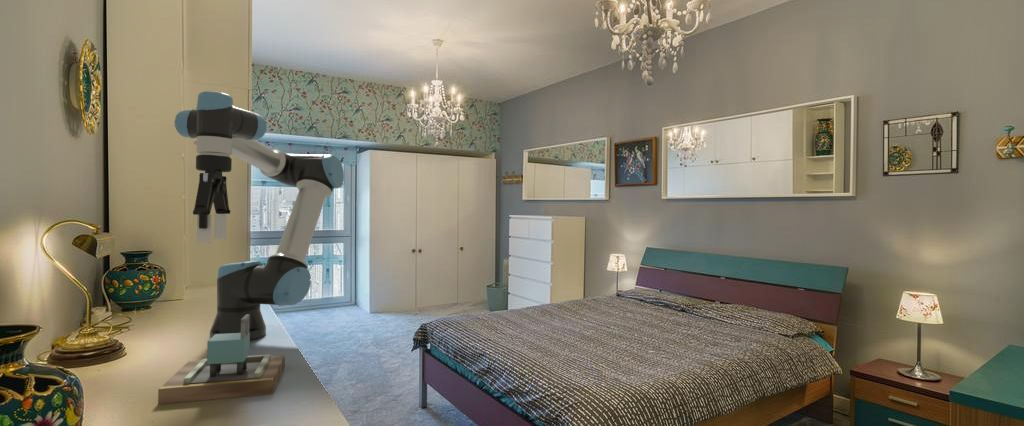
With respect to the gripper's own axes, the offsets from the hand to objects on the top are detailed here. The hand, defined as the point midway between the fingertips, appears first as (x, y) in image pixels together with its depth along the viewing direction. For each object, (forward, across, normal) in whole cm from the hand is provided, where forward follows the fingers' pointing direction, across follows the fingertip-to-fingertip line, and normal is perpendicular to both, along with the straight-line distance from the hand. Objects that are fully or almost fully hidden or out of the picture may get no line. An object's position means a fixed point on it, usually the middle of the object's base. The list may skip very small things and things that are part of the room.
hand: (212, 240), depth 117 cm
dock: (+32, +13, +7) cm, 35 cm away
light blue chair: (+28, +15, +8) cm, 33 cm away
